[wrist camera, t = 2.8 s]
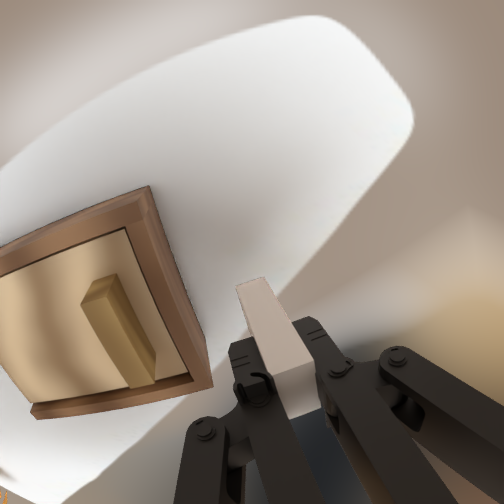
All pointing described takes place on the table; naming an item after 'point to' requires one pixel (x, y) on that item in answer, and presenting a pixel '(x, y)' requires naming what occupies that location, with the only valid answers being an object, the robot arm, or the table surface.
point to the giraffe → (5, 498)
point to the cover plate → (83, 323)
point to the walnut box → (160, 283)
